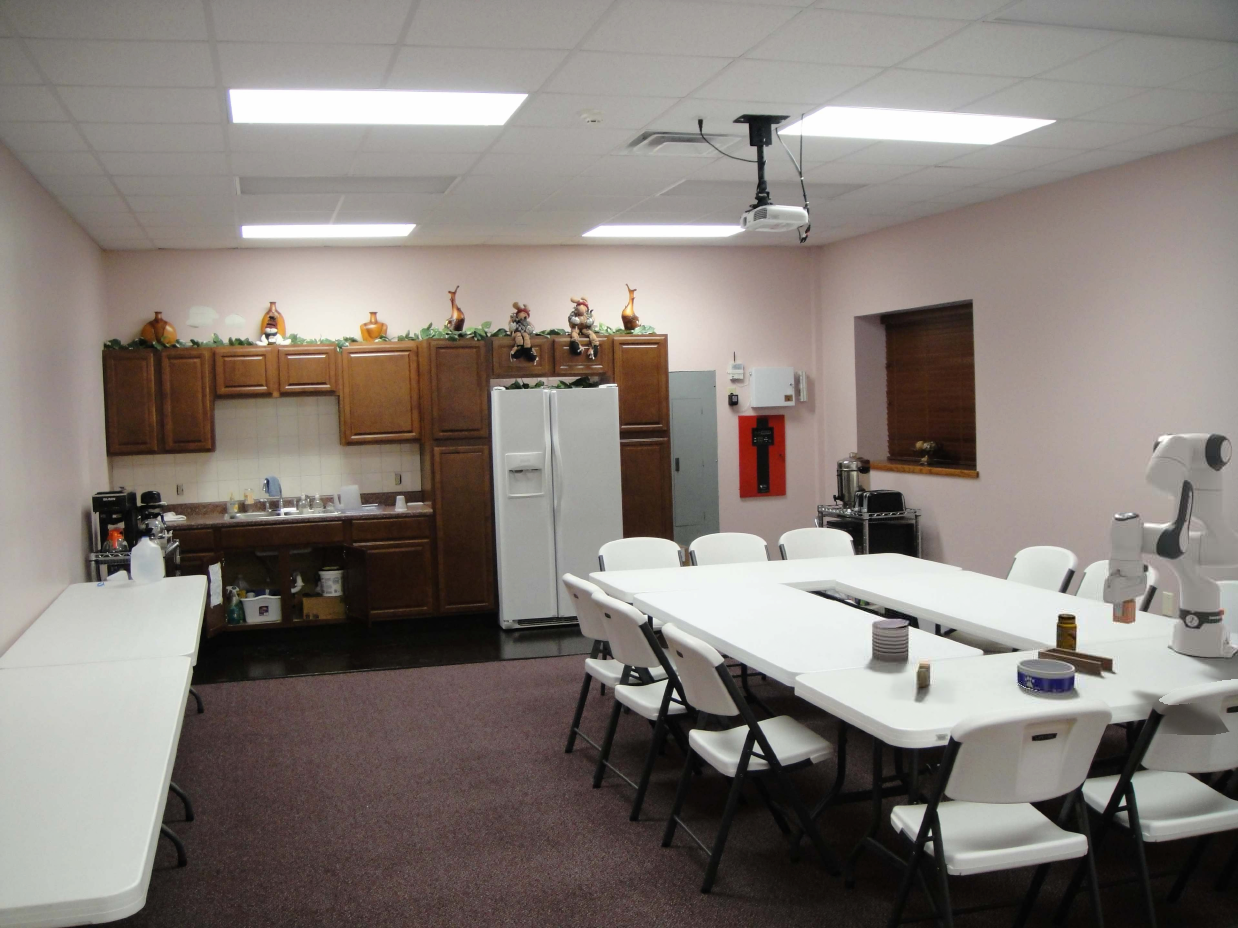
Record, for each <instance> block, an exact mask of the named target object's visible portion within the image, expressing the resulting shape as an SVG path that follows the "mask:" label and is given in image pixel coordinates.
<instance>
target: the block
mask: <svg viewBox="0 0 1238 928" xmlns="http://www.w3.org/2000/svg"><path fill="white" fill-rule="evenodd" d="M1136 603H1137V602H1136V600H1135V601H1128V600H1126V601H1123V605H1122V610H1124V615H1123V616H1116V615H1115V608H1114V605H1113V604H1112V622H1113V623H1120V624H1125V625H1126V624H1127V625H1130V624H1132V623H1135V622H1136V611H1137V610H1136V606H1137V605H1136Z"/></svg>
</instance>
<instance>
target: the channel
mask: <svg viewBox="0 0 1238 928" xmlns="http://www.w3.org/2000/svg"><path fill="white" fill-rule="evenodd" d="M1049 647H1050V646H1049ZM1076 651H1077V650H1076ZM1076 651H1071V650H1065V649H1060V648H1056V647H1055V646H1051V647H1050V648H1045V649H1040V650H1038V651H1037V659H1048V660H1056V661H1061V662H1065V663H1068V664H1070V665H1072V666H1074V668H1075V671H1078V672H1082V673H1087V674H1092V675H1097V676H1101V675H1102V670H1104V671H1105V670H1106V671H1110V672H1111V671H1113V670H1114V669H1113V666H1114V665H1113V663H1114V662H1113V661H1114V658H1112V657H1111V658H1110V657H1105V656H1100V655H1096V654H1095V655H1094V654H1091V653H1090V654H1089V653H1087V652H1086V653H1085V652H1080V651H1077V652H1076Z"/></svg>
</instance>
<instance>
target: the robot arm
mask: <svg viewBox="0 0 1238 928" xmlns="http://www.w3.org/2000/svg"><path fill="white" fill-rule="evenodd" d="M1232 451H1233V448H1232V444H1231V442H1230V439H1229V438H1228V437H1227V436H1225V435H1222V434H1218V433H1212V434H1210V433H1198V432H1196V433H1195V432H1191V433H1179V434H1178V433H1177V434H1172V433H1169V434H1165V435H1161V436H1159V437H1158V438H1157V439H1156V441H1155V442H1154V445H1153V450H1152V453H1153V454H1152V455H1151V458H1150V460H1149V463H1148V464H1147V468H1146V471H1145V481H1146V483H1147V485H1148V486H1149V488H1151V489H1152V490H1153V492H1155V493H1156V494H1158V495H1160V496H1163V497H1165V498H1168V499H1169V500H1172V501H1173V502H1174V503H1173V509H1172V514H1171V520H1170V522H1167V523H1155V522H1154V523H1153V522H1146V521H1144V520H1142V517H1141V515H1140V514H1139V513H1136V512H1131V511H1130V512H1127V511H1124V512H1118V513H1116V514H1114V515H1112V517H1111V521H1110V524H1109V534H1108V535H1109V536H1108V544H1109V548H1110V549H1109V553H1108V569H1107V571H1108V576H1107V577H1105V578H1104V583H1103V591H1102V600H1103V602H1104V603H1107V604H1111V605H1112V606H1113V605H1114V608H1115V615H1116V616H1123V615H1124V610H1122V605H1123V601H1126V600H1128V601H1135V602H1136V598H1139V597H1142V596H1145V595H1146V592H1147V587H1148V574H1147V573H1149V571H1150V570H1149V569H1150V567H1149V565H1148V564H1147V563H1144V562H1143V556H1142V555H1144V556H1145V555H1146V556H1151V557H1158V558H1160V560H1161V561H1162V562H1163V563H1165V564H1166V565H1167V566H1168V567H1169V568H1171V570H1172V571H1173V572H1174V574H1175V576H1176V578H1177V580H1178V585H1179V594H1180V595H1179V596H1180V603H1179V604H1180V606H1179V607H1178V610H1177V613H1178V615H1177V616H1178V620H1177V621H1175V622H1174V623H1173V631H1172V639H1171V640H1172V641H1171V642H1169V643H1167V647H1168V648H1169V649H1172V650H1173V651H1175V652H1177V653H1180V654H1183V655H1189V656H1194V657H1201V658H1232V657H1233V656H1234V655H1235V654H1236V653H1235V652H1238V645H1236V644H1234V643H1233V644H1232V643H1231V631H1230V630H1229V629H1228V627H1227V626H1226V625H1225V624H1224V623H1223V616H1224V615H1225V609H1224V608H1222V609H1221V587H1220V585H1219V584H1218V583H1217V582H1216V581H1215V580H1213V579H1212V578H1209V577H1207V576H1206V575H1204V574H1202V573H1201V571H1200V570H1199V568H1200V567H1206V568H1219V569H1227V568H1228V569H1230V568H1238V533H1237V532H1235V531H1234V530H1233V528H1232V527H1231V526H1230V524H1229V523H1228V520H1227V519H1226V515H1225V510H1224V509H1225V507H1224V473H1223V468H1224V467H1225V466H1226V465H1228V463H1229V462H1230V460H1231V457H1232V453H1233V452H1232ZM1191 520H1192V521H1195V522H1196V523H1198V524H1201V525H1202V526H1203V527H1204V531H1201V532H1200V531H1190V524H1191ZM1234 653H1235V654H1234ZM1233 654H1234V655H1233Z"/></svg>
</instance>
